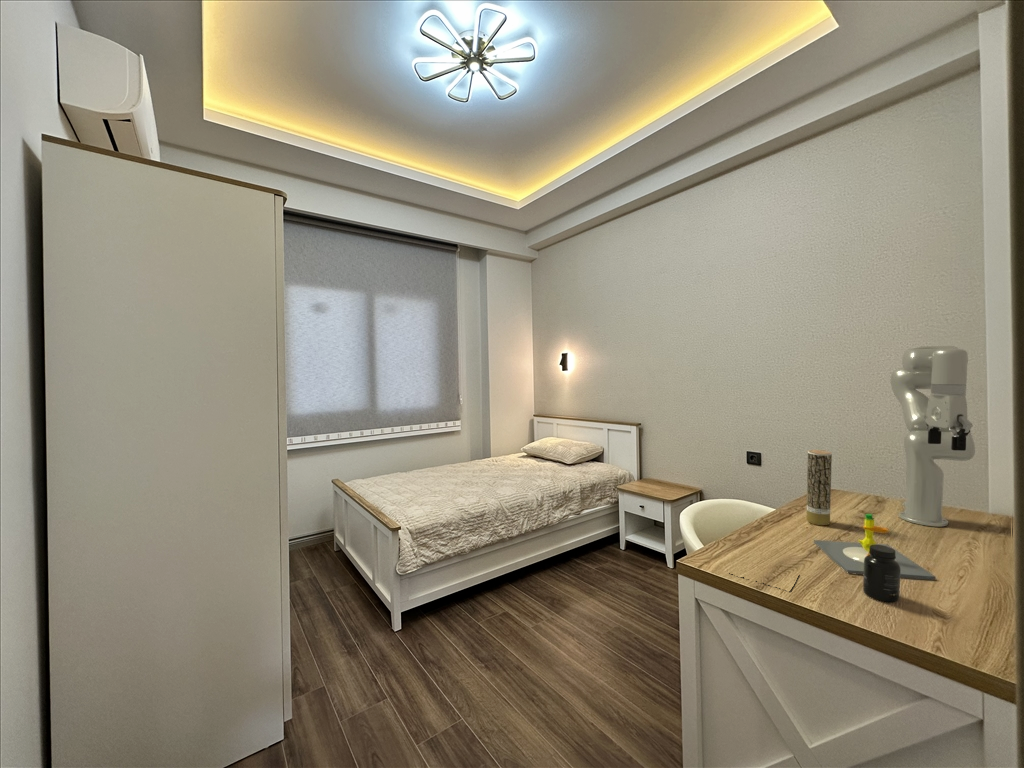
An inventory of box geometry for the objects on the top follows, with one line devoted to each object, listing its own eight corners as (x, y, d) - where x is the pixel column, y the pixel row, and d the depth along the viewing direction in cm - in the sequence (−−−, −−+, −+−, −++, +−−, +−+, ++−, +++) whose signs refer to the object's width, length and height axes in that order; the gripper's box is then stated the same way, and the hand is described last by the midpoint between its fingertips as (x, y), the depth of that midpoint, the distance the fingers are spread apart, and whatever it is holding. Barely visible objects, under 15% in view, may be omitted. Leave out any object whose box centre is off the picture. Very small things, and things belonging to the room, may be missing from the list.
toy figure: (887, 557, 125) (888, 515, 125) (888, 562, 122) (889, 519, 122) (856, 551, 129) (857, 511, 129) (857, 556, 126) (858, 514, 126)
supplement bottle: (855, 589, 111) (856, 543, 110) (880, 588, 111) (882, 541, 111) (880, 605, 104) (882, 555, 103) (907, 603, 105) (909, 553, 104)
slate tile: (813, 543, 138) (813, 539, 138) (887, 547, 134) (887, 543, 134) (847, 573, 119) (847, 569, 119) (935, 580, 115) (935, 575, 115)
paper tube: (833, 526, 151) (835, 454, 150) (811, 525, 152) (813, 453, 151) (824, 519, 158) (825, 450, 156) (802, 518, 159) (804, 449, 158)
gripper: (914, 388, 142) (912, 441, 143) (955, 392, 125) (952, 452, 126) (941, 388, 140) (939, 441, 141) (987, 392, 123) (984, 453, 124)
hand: (945, 446), depth 134 cm, fingers open, 9 cm apart
